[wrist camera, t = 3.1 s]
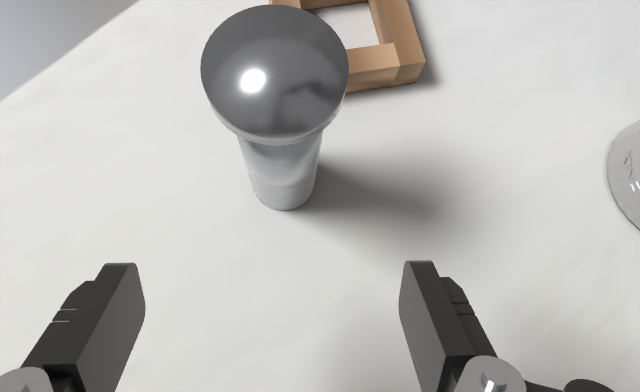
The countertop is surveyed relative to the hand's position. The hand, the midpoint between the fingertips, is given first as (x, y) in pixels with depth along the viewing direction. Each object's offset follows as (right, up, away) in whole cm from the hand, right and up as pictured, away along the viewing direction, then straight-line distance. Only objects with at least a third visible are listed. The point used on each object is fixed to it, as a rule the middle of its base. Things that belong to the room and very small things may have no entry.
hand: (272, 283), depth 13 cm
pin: (-1, +4, +15) cm, 15 cm away
